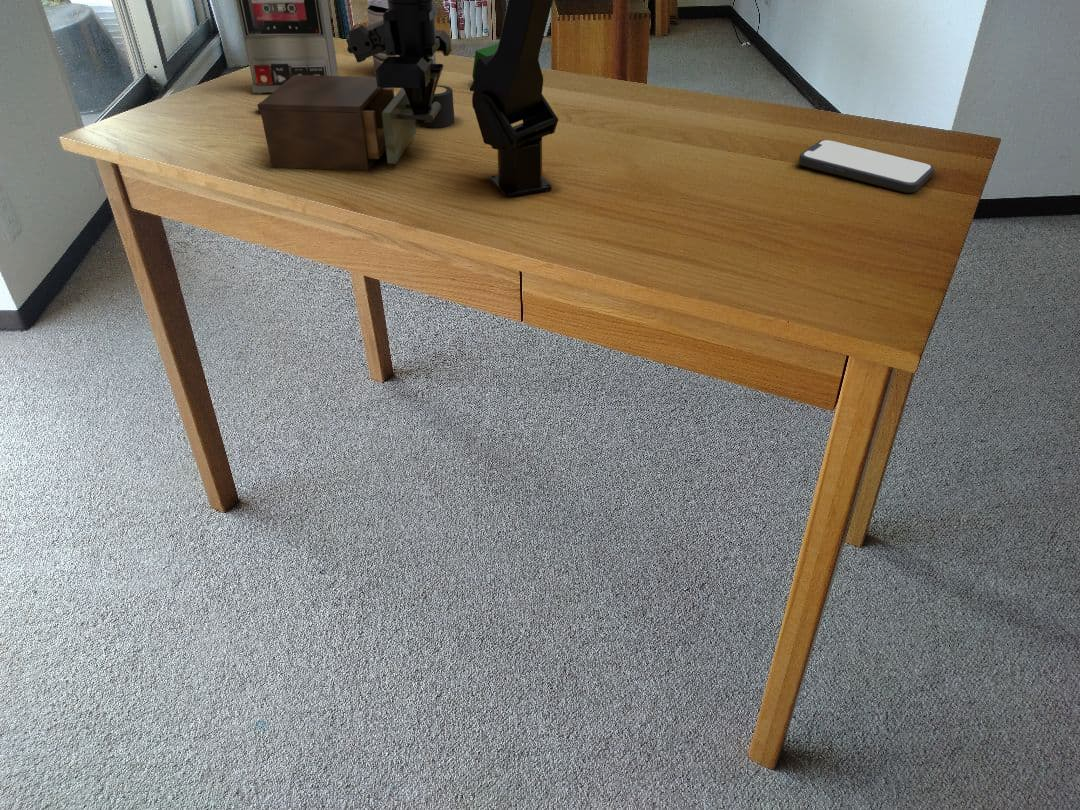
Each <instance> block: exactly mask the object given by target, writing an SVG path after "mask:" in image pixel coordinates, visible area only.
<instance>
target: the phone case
mask: <svg viewBox="0 0 1080 810" xmlns="http://www.w3.org/2000/svg"><path fill="white" fill-rule="evenodd" d="M798 164H799V165H800V166H802V167H805V168H808V169H813V170H817V171H821V172H824V173H828V174H831V175H835V176H839V177H844V178H847V179H850V180H855V181H858V182H862V183H866V184H870V185H874V186H877V187H880V188H885V189H889V190H893V191H897V192H900V193H905V194H914V193H916V192H917V191H918V190H919V189H921V187H923V186H924V185H925V184H926V183H927V182H928V181H929V180H930V179H931V178H932V177H933V175H934V172H935V167H934V166H933V165H932V164H929V163H925V162H921V161H917V160H912V159H910V158H904V157H902V156H901V157H900V156H897V155H892V154H888V153H884V152H880V151H876V150H873V149H872V150H871V149H869V148H863V147H859V146H855V145H851V144H848V143H843V142H839V141H835V140H830V139H821V140H819V141H817V142H816V143H814V144H813V145H811V146H810V147H809V148H807V149H806V150H804V151H803V152H801V153H800V154H799V157H798Z"/></svg>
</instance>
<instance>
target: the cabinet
mask: <svg viewBox="0 0 1080 810" xmlns="http://www.w3.org/2000/svg"><path fill="white" fill-rule="evenodd" d="M381 89H382V88H380V87H378V86H377V80H376V76H355V75H354V76H351V75H349V76H348V75H340V76H316V75H293V76H292V77H291V78H290V79H289V80H287V81H286V82H285V83H284V84H283V85H281V86H280V87H279V88H278V89H276V90H275V91H274V92H271V93H270V94H269V95H268V96H267V97H266V98H264V99H263V100H262V101H260V102H261V103H260V102H259V103H260V104H259V103H258V104H259V106H260V110H259V112H260V116H261V120H262V126H263V130H264V136H265V140H266V141H265V142H266V144H267V151H268V155H269V161H270V164H271V168H278V169H305V170H307V169H308V170H331V171H336V170H337V171H338V170H339V171H361V172H363V171H364V172H367V171H368V172H369V171H370V169H371V168H372V167H373V165H374V164H375V162H376V161H377V160H378V159H369V157H368V150H367V142H366V134H365V127H364V119H363V112H362V111H363V109H364V108H365V107H366V106H367V105H368V104H369V102H370V101H371V100H372V99H373V98H374V97H375V95H376V94H377V93H378V92H379V91H380V90H381Z"/></svg>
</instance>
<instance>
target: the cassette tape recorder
mask: <svg viewBox="0 0 1080 810" xmlns="http://www.w3.org/2000/svg"><path fill="white" fill-rule="evenodd" d="M235 2H236V8H237V12H238V17H239V23H240V27H241V32H242V37H243V41H244V45H245V52H246V55H247V60H248V65H249V71H250V76H251V81H252V84H251V89H252V93H256V94H257V95H262V94H264V93H273V92H274V91H275V90H276V89H278V88H279V87H280V86H281V85H283V84H284V83H285V82H286V81H287V80H289V79H290V78H291V77H292V76H293V75H316V76H341V75H340V74H339V69H338V63H337V55H336V49H335V41H334V35H333V27H332V21H331V14H330V8H329V7H330V6H329V0H235Z"/></svg>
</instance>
